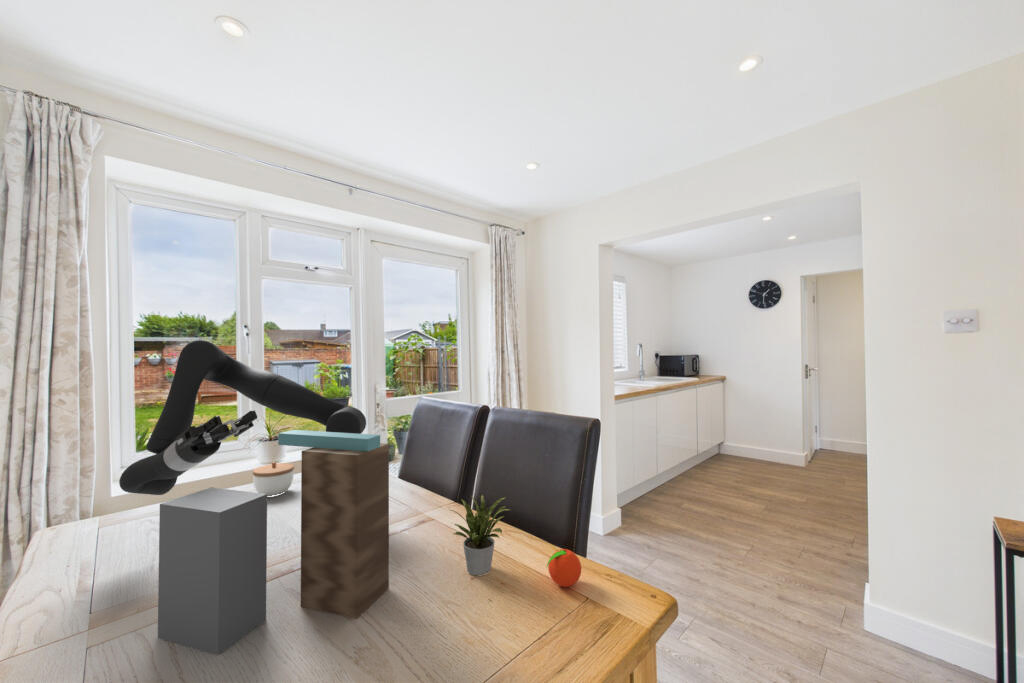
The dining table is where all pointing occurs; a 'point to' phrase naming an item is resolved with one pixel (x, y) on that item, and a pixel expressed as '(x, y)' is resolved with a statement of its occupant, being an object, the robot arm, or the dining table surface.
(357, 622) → the dining table surface
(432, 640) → the dining table surface
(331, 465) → the stand
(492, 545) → the house plant
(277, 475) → the lidded bowl
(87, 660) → the dining table surface
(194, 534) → the block
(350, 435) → the block
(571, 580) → the clementine
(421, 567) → the dining table surface
